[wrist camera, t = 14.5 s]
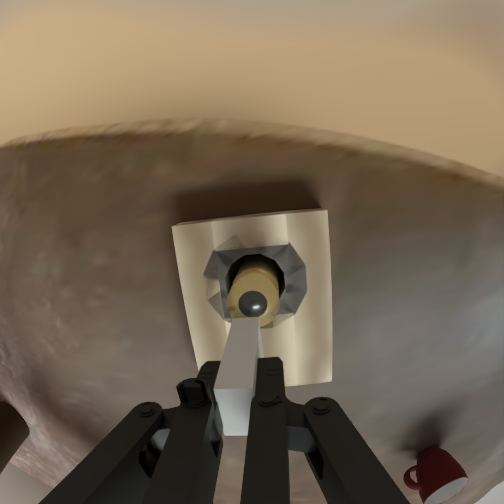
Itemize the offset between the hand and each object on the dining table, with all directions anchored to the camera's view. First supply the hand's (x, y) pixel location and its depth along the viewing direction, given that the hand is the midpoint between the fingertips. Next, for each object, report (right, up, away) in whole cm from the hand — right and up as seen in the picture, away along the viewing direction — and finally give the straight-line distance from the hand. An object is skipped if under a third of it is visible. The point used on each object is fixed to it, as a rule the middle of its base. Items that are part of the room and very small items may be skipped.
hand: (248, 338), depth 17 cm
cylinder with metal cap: (+1, +3, +14) cm, 14 cm away
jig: (+1, 0, +14) cm, 14 cm away
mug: (+29, -30, +19) cm, 46 cm away
